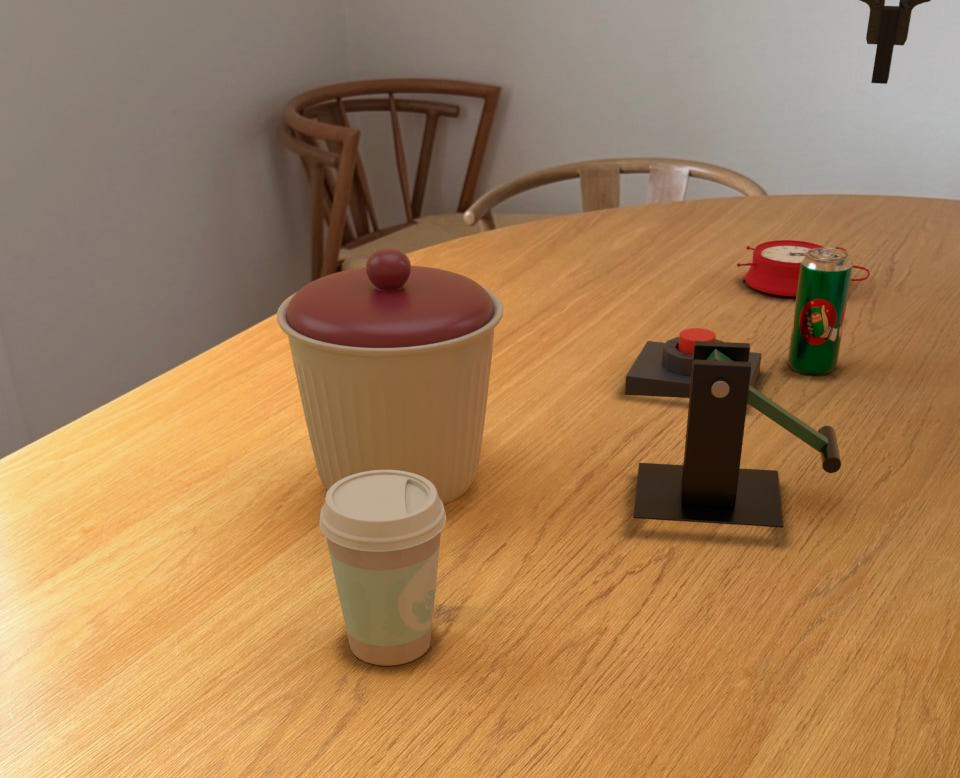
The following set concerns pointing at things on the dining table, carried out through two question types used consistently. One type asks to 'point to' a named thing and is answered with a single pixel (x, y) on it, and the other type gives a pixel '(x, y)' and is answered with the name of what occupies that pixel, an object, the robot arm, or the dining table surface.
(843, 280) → the soda can
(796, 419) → the lever
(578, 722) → the dining table surface
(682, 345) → the button
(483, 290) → the canister
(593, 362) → the dining table surface
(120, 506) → the dining table surface
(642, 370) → the button box
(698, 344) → the bracket
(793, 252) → the alarm clock
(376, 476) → the coffee cup
